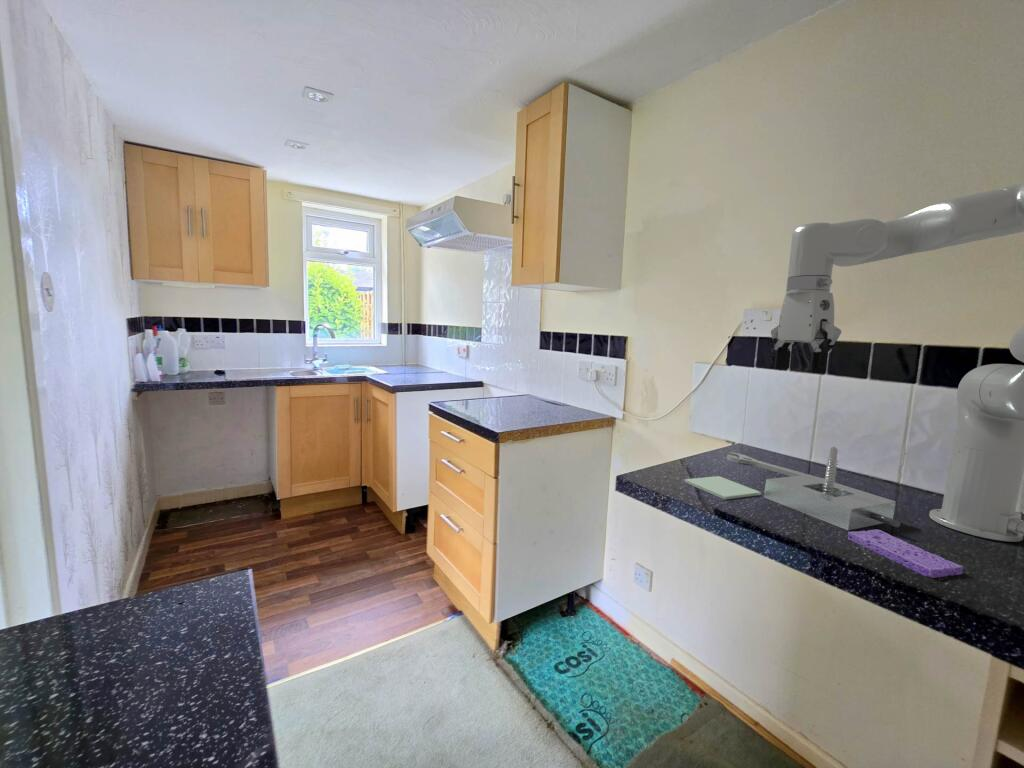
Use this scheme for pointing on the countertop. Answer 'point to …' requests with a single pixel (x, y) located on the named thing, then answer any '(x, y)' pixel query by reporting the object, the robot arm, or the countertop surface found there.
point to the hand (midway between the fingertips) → (798, 370)
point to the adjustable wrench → (761, 464)
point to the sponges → (905, 553)
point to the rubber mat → (722, 487)
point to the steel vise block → (831, 502)
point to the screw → (830, 472)
